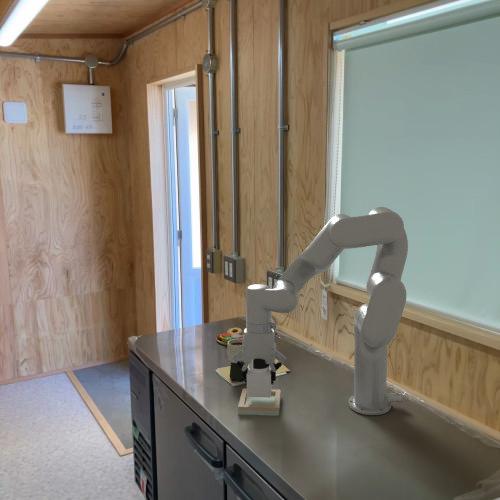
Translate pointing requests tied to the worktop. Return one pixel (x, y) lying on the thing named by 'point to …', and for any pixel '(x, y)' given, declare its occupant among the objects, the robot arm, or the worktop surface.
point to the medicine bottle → (259, 379)
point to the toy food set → (230, 335)
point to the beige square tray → (260, 404)
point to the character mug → (235, 370)
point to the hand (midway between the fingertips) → (259, 381)
